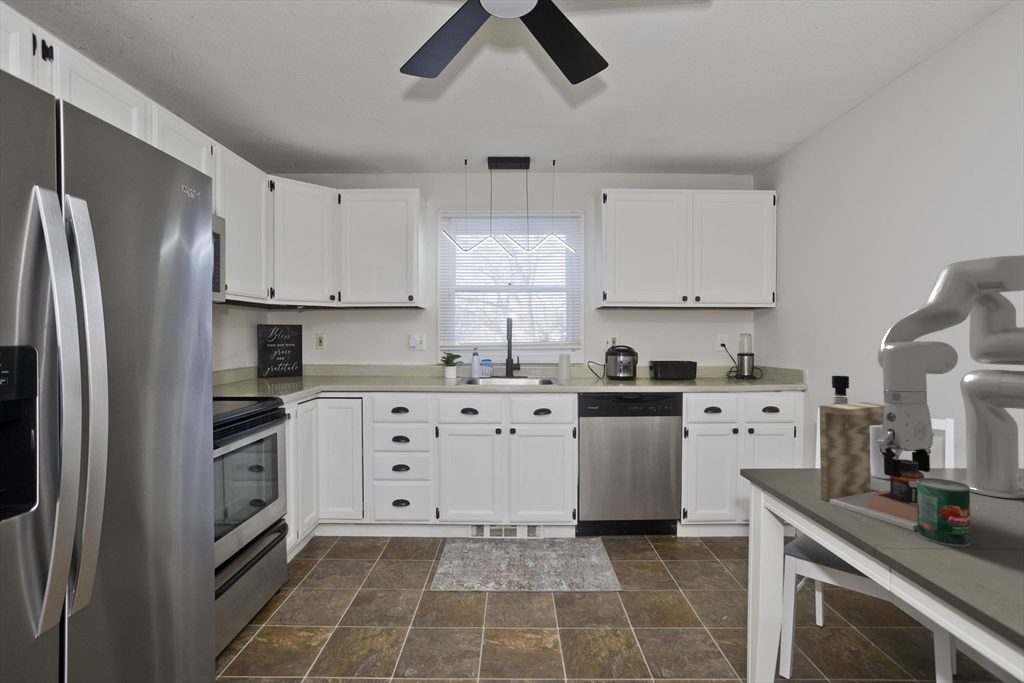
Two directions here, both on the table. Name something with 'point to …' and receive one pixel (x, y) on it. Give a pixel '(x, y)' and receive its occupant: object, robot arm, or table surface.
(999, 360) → the robot arm
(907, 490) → the supplement bottle
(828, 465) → the wood grain block
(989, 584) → the table surface
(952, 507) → the canned tomato
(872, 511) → the socket
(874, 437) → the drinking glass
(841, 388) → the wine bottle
